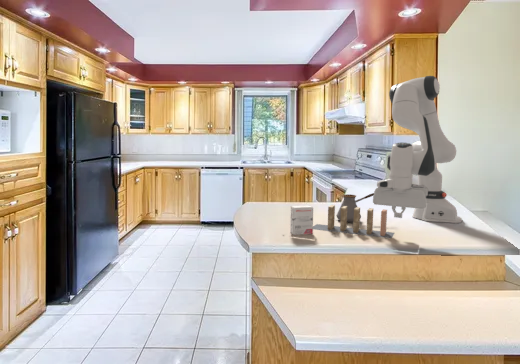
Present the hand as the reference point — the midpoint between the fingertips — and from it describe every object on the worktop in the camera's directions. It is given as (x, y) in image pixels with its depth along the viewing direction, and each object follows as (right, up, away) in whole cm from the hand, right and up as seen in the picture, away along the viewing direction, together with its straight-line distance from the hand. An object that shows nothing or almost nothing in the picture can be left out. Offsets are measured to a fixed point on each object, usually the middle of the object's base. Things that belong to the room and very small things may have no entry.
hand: (398, 217), depth 156 cm
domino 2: (-20, -6, +10) cm, 23 cm away
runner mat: (-17, -7, +9) cm, 20 cm away
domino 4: (-10, -7, +6) cm, 13 cm away
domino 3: (-15, -7, +8) cm, 18 cm away
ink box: (-39, -8, +5) cm, 40 cm away
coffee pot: (-9, -5, +29) cm, 31 cm away
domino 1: (-25, -6, +13) cm, 29 cm away
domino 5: (-5, -7, +3) cm, 10 cm away
